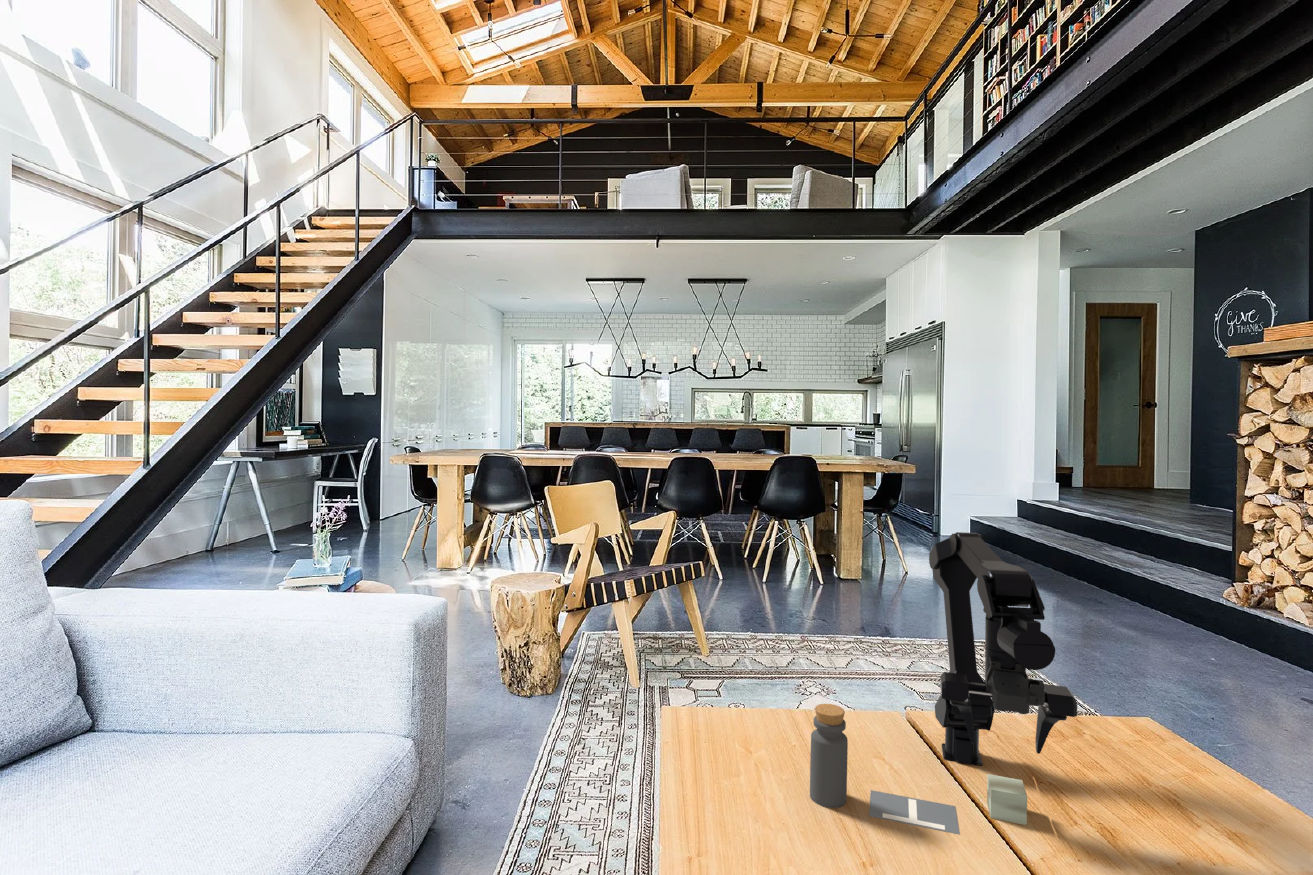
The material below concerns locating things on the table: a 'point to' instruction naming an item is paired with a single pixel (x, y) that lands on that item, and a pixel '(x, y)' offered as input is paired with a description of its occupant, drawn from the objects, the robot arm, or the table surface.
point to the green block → (1006, 799)
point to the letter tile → (914, 811)
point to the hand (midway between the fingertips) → (1004, 747)
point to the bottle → (829, 757)
